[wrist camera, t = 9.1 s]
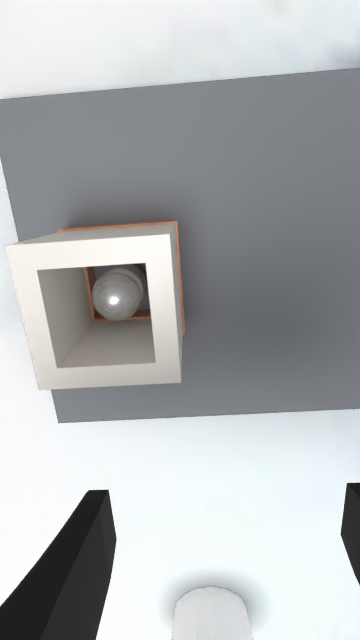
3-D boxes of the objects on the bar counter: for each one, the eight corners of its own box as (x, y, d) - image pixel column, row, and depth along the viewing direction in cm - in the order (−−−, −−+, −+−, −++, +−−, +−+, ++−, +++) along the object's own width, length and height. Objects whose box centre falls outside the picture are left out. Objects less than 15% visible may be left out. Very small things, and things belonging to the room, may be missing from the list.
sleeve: (177, 219, 16) (172, 230, 10) (184, 325, 18) (184, 385, 12) (66, 227, 16) (1, 242, 10) (84, 331, 18) (36, 392, 12)
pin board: (500, 66, 15) (533, 52, 14) (436, 389, 20) (455, 403, 19) (5, 109, 16) (-12, 100, 14) (66, 408, 21) (58, 423, 20)
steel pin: (147, 258, 16) (135, 275, 13) (151, 298, 17) (141, 326, 13) (105, 260, 17) (81, 278, 13) (111, 300, 17) (90, 329, 13)
